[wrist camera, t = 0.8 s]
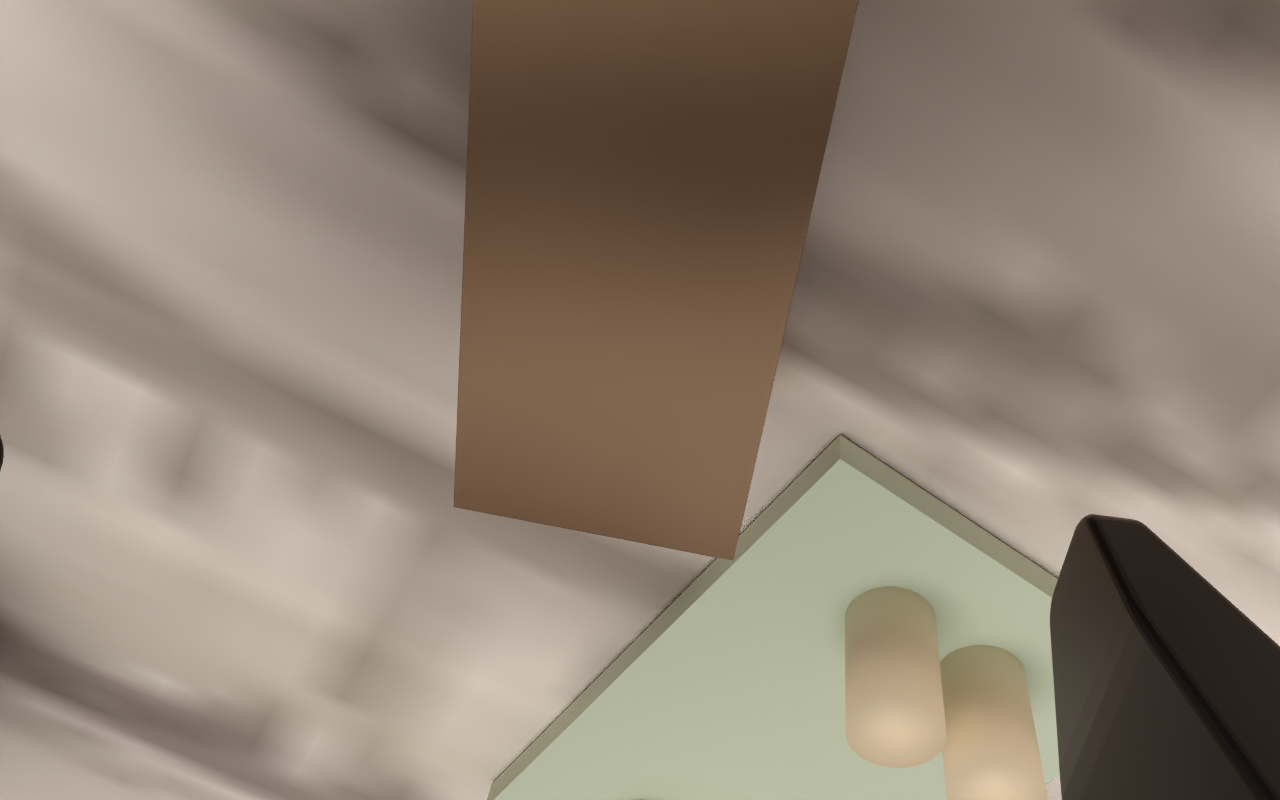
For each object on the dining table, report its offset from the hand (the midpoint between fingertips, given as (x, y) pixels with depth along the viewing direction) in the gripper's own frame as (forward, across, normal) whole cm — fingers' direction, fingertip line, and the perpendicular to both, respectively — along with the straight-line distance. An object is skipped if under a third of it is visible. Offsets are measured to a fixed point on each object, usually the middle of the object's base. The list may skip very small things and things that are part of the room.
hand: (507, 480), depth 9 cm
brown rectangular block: (+12, 0, 0) cm, 12 cm away
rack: (+11, -4, +15) cm, 19 cm away
